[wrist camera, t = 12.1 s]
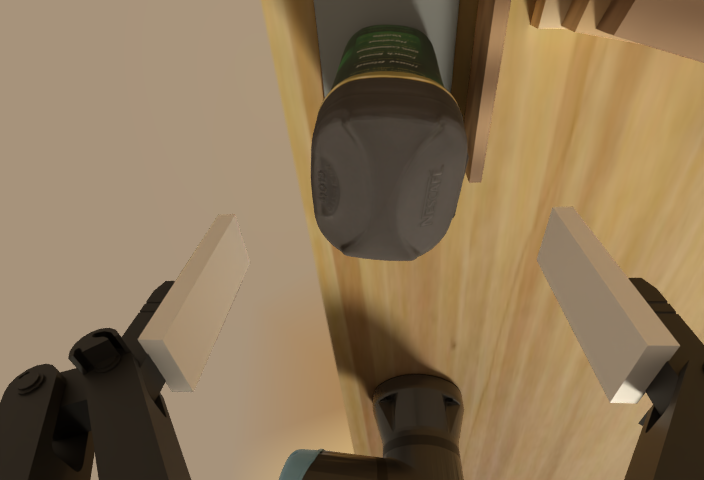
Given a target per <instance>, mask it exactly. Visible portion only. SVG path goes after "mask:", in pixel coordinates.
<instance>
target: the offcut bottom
mask: <svg viewBox="0 0 704 480" xmlns="http://www.w3.org/2000/svg"><path fill="white" fill-rule="evenodd" d="M571 2H572V0H536V3H535V7H534V11H533V15H532V19H531V23H530V25H532V26H534V27H536V28H538V29H567V28H565V27H562V26H561V25H562V23H563V20H564V18H565V16H566V14H567V11H568V9H569V7H570V5H571Z"/></svg>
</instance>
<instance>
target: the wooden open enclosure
mask: <svg viewBox="0 0 704 480" xmlns="http://www.w3.org/2000/svg"><path fill="white" fill-rule="evenodd" d="M510 3H511V0H478V9H477V17H476V26H475V34H474V43H473V51H472V60H471V68H470V76H469V85H468V93H467V102H466V110H465V119H464V127H465V131H466V135H467V145H468V149H467V153H468V156H469V159H468V163H467V167H466V171H465V172H466V175H467V178H468V181H469V183H475V182H481V180H482V174H483V168H484V162H485V156H486V150H487V144H488V138H489V132H490V125H491V119H492V113H493V107H494V101H495V95H496V89H497V83H498V77H499V71H500V64H501V58H502V52H503V46H504V40H505V34H506V28H507V22H508V16H509V10H510Z"/></svg>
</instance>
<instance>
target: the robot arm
mask: <svg viewBox="0 0 704 480" xmlns="http://www.w3.org/2000/svg"><path fill="white" fill-rule="evenodd" d="M537 261H538V263H539V265H540V267H541V269H542V271H543V273H544V275H545V277H546V279H547V281H548V283H549V285H550V287H551V289H552V291H553V293H554V295H555V297H556V298H557V300H558V302H559V304H560V306H561V308H562V310H563V312H564V314H565V316H566V318H567V320H568V322H569V324H570V326H571V328H572V330H573V332H574V333H575V335H576V337H577V339H578V341H579V343H580V345H581V347H582V349H583V351H584V353H585V355H586V357H587V359H588V361H589V363H590V365H591V367H592V369H593V370H594V372H595V374H596V376H597V378H598V380H599V382H600V384H601V386H602V388H603V390H604V392H605V394H606V396H607V398H608V400H609V402H610V403H638V402H639V400H640V399H641V398H642V396H643V395H644V394H645V392H646V393H647V395H648V396H649V398H650V400H651V401H652V403H653V405H652V407H651V408H650V409H649V410H648V412H647V413H646V414H645V415H644V417H643V418H642V419H641V421H640V422H639V423H638V424H640V425H642V426H643V428H642V431H641V434H640V436H639V439H638V442H637V445H636V448H635V451H634V453H633V456H632V459H631V462H630V465H629V468H628V470H627V473H626V476H625V479H624V480H704V345H703V343H702V342H701V341H700V340H699V339H698V337H697V336H696V335H695V334H694V333H693V331H692V330H691V329H690V328H689V327H688V325H687V324H686V323H685V322H684V321H683V319H682V318H681V317H680V316H679V315H678V314H676V311H675V310H674V309H673V308H672V306H671V305H670V304H668V303H667V300H666V299H665V298H664V297H663V296H662V294H661V293H660V292H659V291H658V290H657V289H656V288H655V287H654V286H652V285H651V284H649V283H648V282H646V281H645V280H643V279H642V278H628V277H627V276H626V275H625V273H624V272H623V271H622V270H621V268H620V267H619V266H618V264H617V263H616V262H615V261H614V259H613V258H612V257H611V255H610V254H609V253H608V251H607V250H606V249H605V248H604V246H603V245H602V244H601V242H600V241H599V240H598V239H597V237H596V236H595V235H594V233H593V232H592V231H591V229H590V228H589V227H588V226H587V224H586V223H585V222H584V220H583V219H582V218H581V216H580V215H579V214H578V213H577V211H576V210H575V209H574V207H553V208H552V211H551V214H550V218H549V221H548V224H547V228H546V231H545V234H544V237H543V241H542V244H541V247H540V251H539V254H538V257H537ZM249 264H250V260H249V257H248V253H247V250H246V247H245V244H244V241H243V238H242V234H241V231H240V228H239V225H238V221H237V218H236V215H235V214H229V215H228V214H227V215H218V216H217V218H216V219H215V221H214V222H213V224H212V226H211V227H210V228H209V230H208V232H207V233H206V235H205V236H204V238H203V239H202V241H201V242H200V244H199V245H198V247H197V249H196V250H195V252H194V253H193V255H192V256H191V258H190V259H189V261H188V262H187V264H186V266H185V267H184V269H183V270H182V272H181V273H180V275H179V276H178V278H177V279H176V281H165V282H164V283H163V284H162V285H161V286H159V287H158V288H157V289H156V290H154V292H153V293H152V294H151V296H150V297H149V299H148V300H147V303H146V304H145V305H144V306H143V307H142V309H141V310H140V313H138V315H137V316H136V318H135V319H134V320H133V322H132V323H131V325H130V326H129V328H128V329H127V330H126V332H125V333H124V335H123V336H122V338H121V336H120V335H119V333H118V332H117V331H116V330H115V329H111V328H103V329H99V330H96V331H93V332H91V333H89V334H87V335H86V336H84V337H82V338H81V339H80V340H79V341H78V342H77V343H75V345H74V346H73V347H72V349H71V351H70V353H69V360H70V361H71V362H72V363H73V364H74V365H75V366H76V369H72V370H68V371H64V372H61V373H60V372H59V371H58V370H57V369H56V368H55V367H54V366H53V365H50V364H43V365H38V366H35V367H33V368H30V369H28V370H26V371H25V372H23V373H22V374H20V375H19V376H17V377H16V378H15V379H14V380H13V381H12V382H11V383H10V384H9V386H8V387H7V389H6V390H5V392H4V395H3V397H2V400H1V402H0V480H90V478H91V471H92V465H93V458H94V452H95V457H96V464H97V470H98V477H99V480H191V478H190V475H189V472H188V469H187V466H186V463H185V460H184V457H183V455H182V451H181V448H180V445H179V442H178V440H177V437H176V434H175V431H174V428H173V425H172V422H171V419H170V416H169V413H168V410H167V407H166V404H165V401H164V398H163V396H162V395H161V393H160V391H161V389H162V387H163V385H164V384H165V382H166V383H167V385H168V386H169V388H170V390H171V391H172V392H194V390H195V388H196V385H197V383H198V381H199V378H200V376H201V374H202V371H203V369H204V367H205V365H206V363H207V360H208V358H209V356H210V353H211V351H212V349H213V347H214V344H215V342H216V340H217V338H218V335H219V333H220V331H221V328H222V326H223V324H224V321H225V319H226V317H227V315H228V312H229V310H230V308H231V306H232V303H233V301H234V299H235V296H236V294H237V292H238V290H239V287H240V285H241V283H242V281H243V278H244V276H245V274H246V271H247V269H248V267H249ZM373 412H374V416H375V419H376V423H377V426H378V429H379V433H380V436H381V439H382V443H383V458H379V457H371V456H363V455H355V454H347V453H340V452H332V451H325V450H324V449H319V450H305V449H300V450H296V451H294V452H293V453H292V454H291V455H290V456H289V457H288V459H287V461H286V463H285V465H284V467H283V469H282V472H281V475H280V478H279V480H464V479H463V472H462V466H461V460H460V454H459V438H460V431H461V425H462V419H463V412H464V407H463V401H462V395H461V392H460V391H459V389H458V388H457V387H456V386H455V385H453V384H452V383H450V382H448V381H446V380H444V379H441V378H438V377H434V376H428V375H405V376H399V377H395V378H392V379H390V380H387V381H385V382H384V383H382V384H381V385H379V386H378V387H377V388H376V390H375V391H374V394H373Z"/></svg>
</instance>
